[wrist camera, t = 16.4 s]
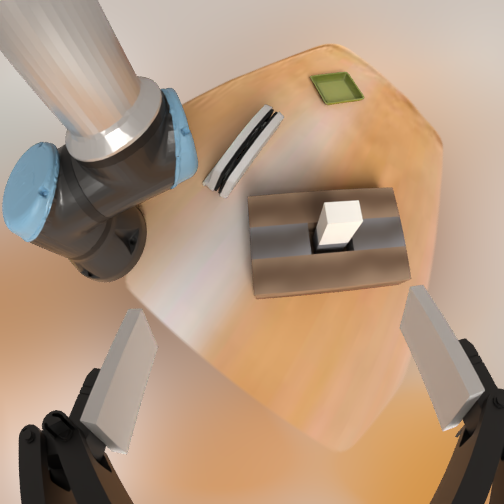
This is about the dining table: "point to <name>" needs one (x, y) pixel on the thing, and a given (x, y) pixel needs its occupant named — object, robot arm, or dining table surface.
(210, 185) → the grey curved slotted block
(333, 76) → the olive green shallow tray
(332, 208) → the rail end
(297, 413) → the dining table surface
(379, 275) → the post foot
